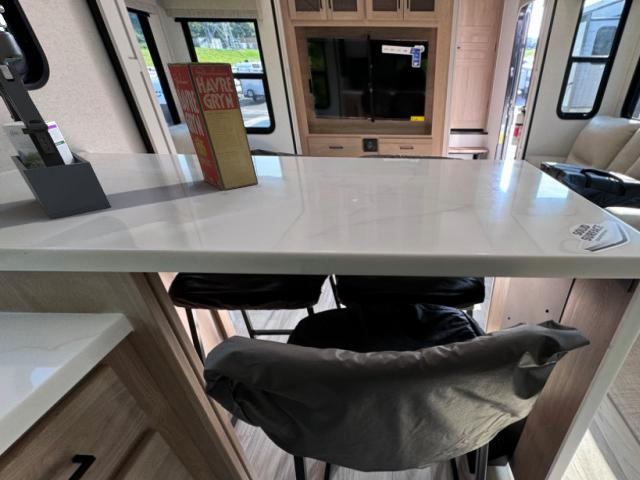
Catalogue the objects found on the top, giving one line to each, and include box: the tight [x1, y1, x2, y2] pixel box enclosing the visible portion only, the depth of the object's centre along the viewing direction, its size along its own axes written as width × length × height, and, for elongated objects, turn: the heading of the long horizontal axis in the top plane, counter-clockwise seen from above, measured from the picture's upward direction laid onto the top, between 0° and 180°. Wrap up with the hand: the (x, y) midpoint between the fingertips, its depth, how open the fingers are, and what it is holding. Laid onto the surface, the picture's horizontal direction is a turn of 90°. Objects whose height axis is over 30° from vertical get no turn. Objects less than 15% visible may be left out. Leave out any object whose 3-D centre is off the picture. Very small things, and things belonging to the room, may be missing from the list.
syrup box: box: [0, 120, 76, 169], centre depth 66 cm, size 6×6×14 cm
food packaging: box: [166, 61, 259, 192], centre depth 78 cm, size 13×9×25 cm
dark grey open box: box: [10, 150, 112, 220], centre depth 68 cm, size 17×9×9 cm, turn 49°
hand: (52, 165), depth 66 cm, fingers open, 13 cm apart
